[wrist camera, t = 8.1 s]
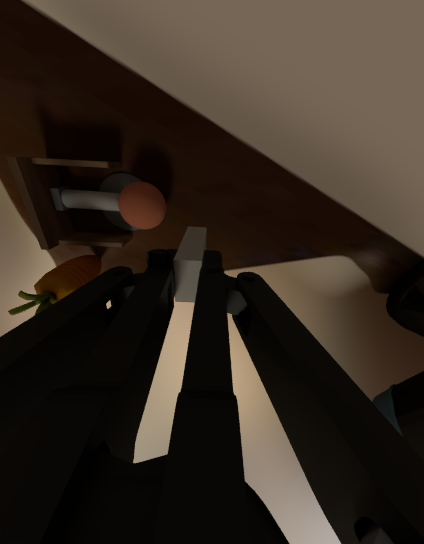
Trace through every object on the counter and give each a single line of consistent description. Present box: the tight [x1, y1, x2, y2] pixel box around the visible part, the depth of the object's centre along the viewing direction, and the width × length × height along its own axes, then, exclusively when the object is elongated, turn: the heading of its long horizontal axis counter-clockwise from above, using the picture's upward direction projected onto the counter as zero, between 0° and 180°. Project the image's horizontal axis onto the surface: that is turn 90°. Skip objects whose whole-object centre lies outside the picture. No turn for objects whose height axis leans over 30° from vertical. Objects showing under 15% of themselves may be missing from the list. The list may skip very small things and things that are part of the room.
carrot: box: [8, 255, 101, 315], centre depth 27 cm, size 5×5×15 cm
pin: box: [50, 186, 120, 211], centre depth 28 cm, size 3×3×8 cm
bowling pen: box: [6, 157, 132, 250], centre depth 27 cm, size 10×11×6 cm
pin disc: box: [99, 173, 142, 230], centre depth 29 cm, size 8×8×1 cm
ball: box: [118, 182, 166, 229], centre depth 27 cm, size 6×6×6 cm
